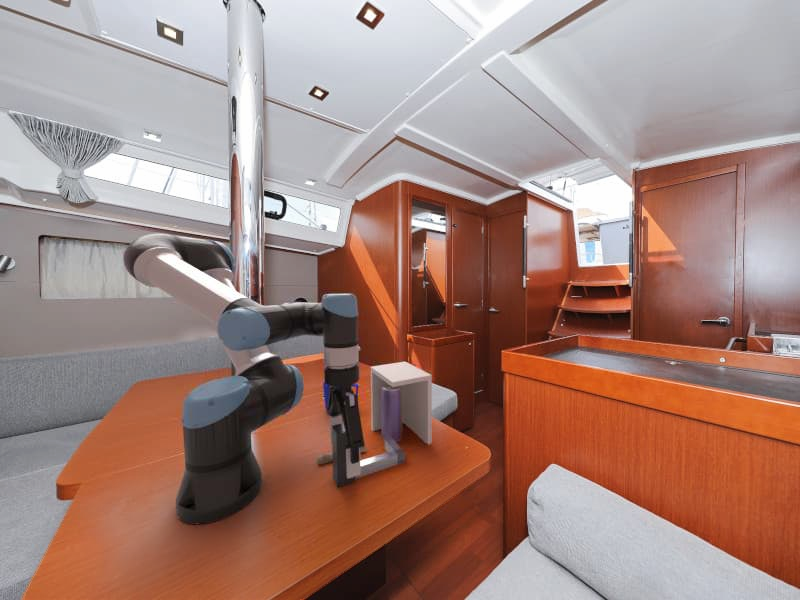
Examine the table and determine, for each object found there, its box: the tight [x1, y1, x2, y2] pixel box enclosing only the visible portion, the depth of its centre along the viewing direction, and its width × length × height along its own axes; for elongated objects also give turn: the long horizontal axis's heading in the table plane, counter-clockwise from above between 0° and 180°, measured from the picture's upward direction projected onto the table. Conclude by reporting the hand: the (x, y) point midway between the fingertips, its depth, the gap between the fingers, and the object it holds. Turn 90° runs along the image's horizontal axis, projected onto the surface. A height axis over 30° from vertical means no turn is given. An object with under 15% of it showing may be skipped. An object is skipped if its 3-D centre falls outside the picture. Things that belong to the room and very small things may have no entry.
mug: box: [322, 380, 359, 413], centre depth 98 cm, size 8×12×10 cm
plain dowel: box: [317, 443, 367, 466], centre depth 72 cm, size 12×2×2 cm, turn 117°
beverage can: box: [380, 383, 403, 443], centre depth 80 cm, size 6×6×15 cm
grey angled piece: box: [331, 422, 406, 489], centre depth 68 cm, size 17×8×12 cm, turn 117°
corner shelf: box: [370, 361, 433, 446], centre depth 81 cm, size 12×15×19 cm
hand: (344, 457), depth 63 cm, fingers open, 13 cm apart
